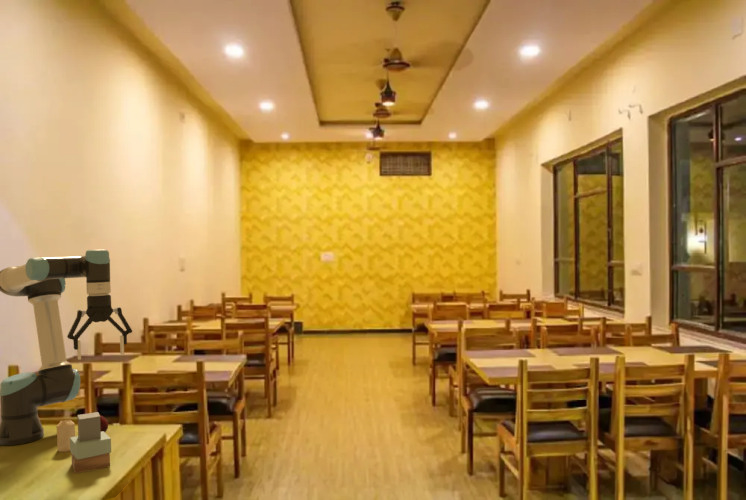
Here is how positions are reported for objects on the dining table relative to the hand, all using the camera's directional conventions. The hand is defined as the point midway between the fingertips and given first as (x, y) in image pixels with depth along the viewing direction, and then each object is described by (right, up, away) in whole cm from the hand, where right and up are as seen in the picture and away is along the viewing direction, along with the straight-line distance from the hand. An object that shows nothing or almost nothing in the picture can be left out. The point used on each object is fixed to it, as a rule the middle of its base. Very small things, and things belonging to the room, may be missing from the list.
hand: (101, 356), depth 211 cm
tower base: (+4, -32, -16) cm, 36 cm away
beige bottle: (-13, -32, +1) cm, 35 cm away
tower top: (+4, -28, -16) cm, 32 cm away
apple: (-8, -32, +16) cm, 37 cm away
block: (+3, -23, -15) cm, 28 cm away
